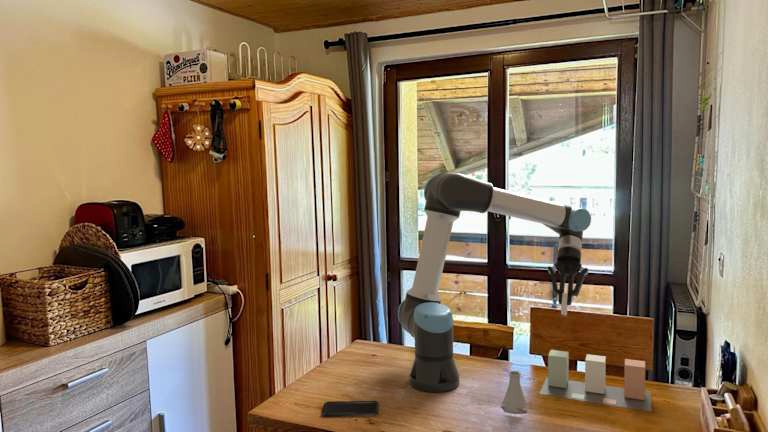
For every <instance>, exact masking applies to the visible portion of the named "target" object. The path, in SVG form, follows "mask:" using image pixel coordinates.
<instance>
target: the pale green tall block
mask: <svg viewBox="0 0 768 432" xmlns="http://www.w3.org/2000/svg"><path fill="white" fill-rule="evenodd" d="M569 356H570V354H569V351H563V350H555V349H550V350H549V353H548V355H547V377H548V386H554V387H561V388H567V385H568V380H569V359H570V357H569Z"/></svg>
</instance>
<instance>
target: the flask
mask: <svg viewBox="0 0 768 432" xmlns="http://www.w3.org/2000/svg"><path fill="white" fill-rule="evenodd" d="M508 375H509V381H508V387H507V389H506V393H505V395H504V397H503V400H502V404H503V405H504V406H503V405H501V406H500V408H501V409H502V410H503V411H504V412H505V413H511V414H517V415H518V414H519V415H520V414H526V413H527V412H528V410H526V409H525V408H526V407H527V405H528V403H527V401H526V398H525V395H524V393H523V392H524V391H523V389H522V386H521V379H520V377H521V375H522V373H521V372H520V371H518V370H509V371H508Z"/></svg>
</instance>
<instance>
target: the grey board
mask: <svg viewBox="0 0 768 432" xmlns="http://www.w3.org/2000/svg"><path fill="white" fill-rule="evenodd" d="M539 395H543V396H549V397H557V398H561V399H562V398H563V399H569V400H575V401H581V402H587V403H594V404H600V405H606V406H613V407H619V408H625V409H631V410H637V411H644V412H652V394H651V391H646V390H645V400H640V399H634V398H627V397H624V387H618V386H611V385H605V393H604V394H601V393H594V392H587V391H585V381H584V382H583V381H576V380H570V379H568V385H567V388H561V387H554V386H548V376H546V378H545V379H544V381H543V384H542V387H541V388H540V391H539Z"/></svg>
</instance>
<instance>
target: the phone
mask: <svg viewBox="0 0 768 432" xmlns="http://www.w3.org/2000/svg"><path fill="white" fill-rule="evenodd" d="M378 414H379V402H378V401H377V400H354V401H351V400H348V401H347V400H346V401H344V400H343V401H342V400H341V401H339V400H338V401H326V402H324V403H323V406H322V410H321V416H322V417H323V418H348V417H349V418H351V417H352V418H353V417H354V418H356V417H358V418H359V417H360V418H361V417H364V416H367V417H376V415H377V416H378Z"/></svg>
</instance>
